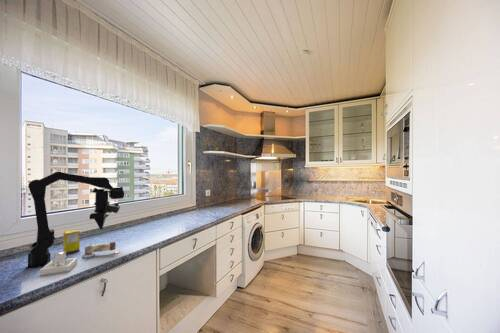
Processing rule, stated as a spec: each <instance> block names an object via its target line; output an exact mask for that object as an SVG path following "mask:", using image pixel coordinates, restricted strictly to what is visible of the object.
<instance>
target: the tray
mask: <svg viewBox="0 0 500 333" xmlns="http://www.w3.org/2000/svg"><path fill="white" fill-rule="evenodd" d="M77 264H78V257H72V258H66V266H60V267H54V260H51V261H50V262H49V263H48V264H46V265H45V266H43V267H41V269H39V276H40V277H42V276H48V275H56V274H63V273H69V272H70V271H71V270H72V269H73V268H74V267H75V266H76V265H77Z"/></svg>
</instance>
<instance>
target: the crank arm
mask: <svg viewBox="0 0 500 333" xmlns="http://www.w3.org/2000/svg"><path fill="white" fill-rule="evenodd" d="M105 251H116V241H111V242H109V243H104V244H103V243H101V244H94V245H91V244H90V245H85V247H84V254H85V255H88V254H92V252H94V253H96V252H105Z"/></svg>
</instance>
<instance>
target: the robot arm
mask: <svg viewBox="0 0 500 333" xmlns="http://www.w3.org/2000/svg"><path fill="white" fill-rule="evenodd" d="M58 181H67V182H74V183H81V184H86V185H89V186H94V188H93V189H92V190H90V192H91V193H95V198H94V199H95V200H94V203H93V205H94V206H95V207H94V208H95V209H94V211H93V212H92V213H91V214H89V220H94V221H95V223H96V224H97V226H98V228H99V229H100V230H103V228H104V225H105V223H106V219H107V218H108V217H109V215H110V214H111V213H114V214H118V213H119V211H120V209H121V206H120V204H119V203H117V202H115V203H114V204H112V203H110V201H109V198H110V200H119V199H124V198H125V192H124V189H123V186H116V187H114V186H112V184H111V183H110V180H109V179H108V178H107V177H101V176H100V177H99V176H84V175H81V174H80V175H78V174H75V173H74V174H73V173H67V172H63V171H55V172H53V173H52V174H48V175H47V176H44V177H42V178H40V179H38V178H37V179H36V178H35V179H33V180H30V181H29V183H28V186H27V187H28V190H29V192H30V195H31V197H32V199H33V204H34V210H35V217H36V219H35V220H36V225H37V230H36V231H37V232H36V239H35V242H34V243H32V244H31V245H30V246H29V252H28V253H27V266H26V267H25V269H26V270H27V269H34V268H43V267H44V266H46V265H47V264H48V263H49V262H51V261H52V260H51V252H50V249H49V248H51V247H52V246H53V244H54V243H55V242H54V241H56V236H55V230H54V228H52V229H50V227H49V222H48V214H47V207H46V200H45V198H46V190H47V189H46V188H47V186H48V187H49V186H50V185H52V184H53V183H56V182H58ZM107 213H109V214H107Z"/></svg>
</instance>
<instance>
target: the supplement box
mask: <svg viewBox="0 0 500 333" xmlns="http://www.w3.org/2000/svg"><path fill="white" fill-rule="evenodd" d="M80 233H81V231H80V230H79V229H71V230H70V229H69V230H66V231H63V240H62V241H63V247H62V248H63V250H62V252H63V251H65V252H66V255H67V254H72V253H75V252H80Z"/></svg>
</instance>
